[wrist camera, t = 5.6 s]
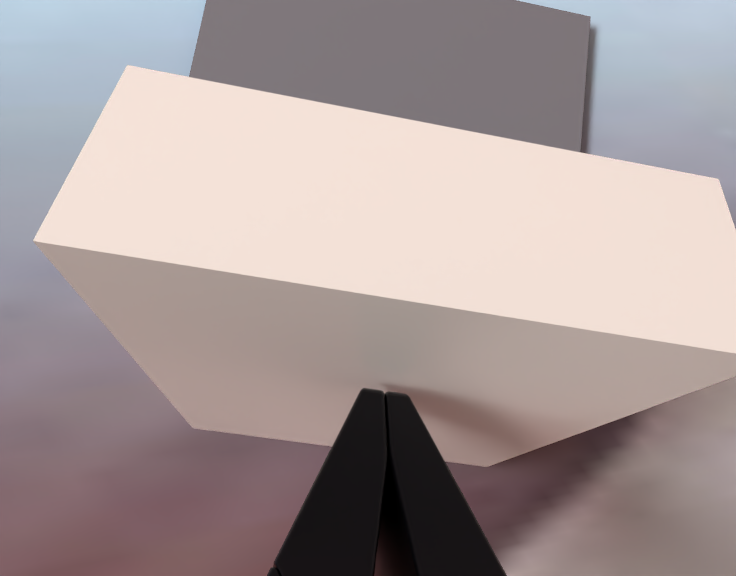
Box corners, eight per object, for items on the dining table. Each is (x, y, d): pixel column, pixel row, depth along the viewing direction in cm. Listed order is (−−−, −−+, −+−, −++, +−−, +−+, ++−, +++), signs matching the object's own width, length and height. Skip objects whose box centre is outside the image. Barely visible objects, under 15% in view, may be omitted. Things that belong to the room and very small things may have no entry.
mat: (557, 356, 16) (573, 355, 15) (146, 292, 15) (134, 288, 14) (583, 25, 19) (598, 6, 18) (223, -53, 17) (218, -77, 16)
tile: (486, 466, 15) (779, 361, 6) (192, 428, 14) (32, 240, 5) (484, 368, 16) (715, 169, 7) (219, 329, 15) (132, 56, 7)
